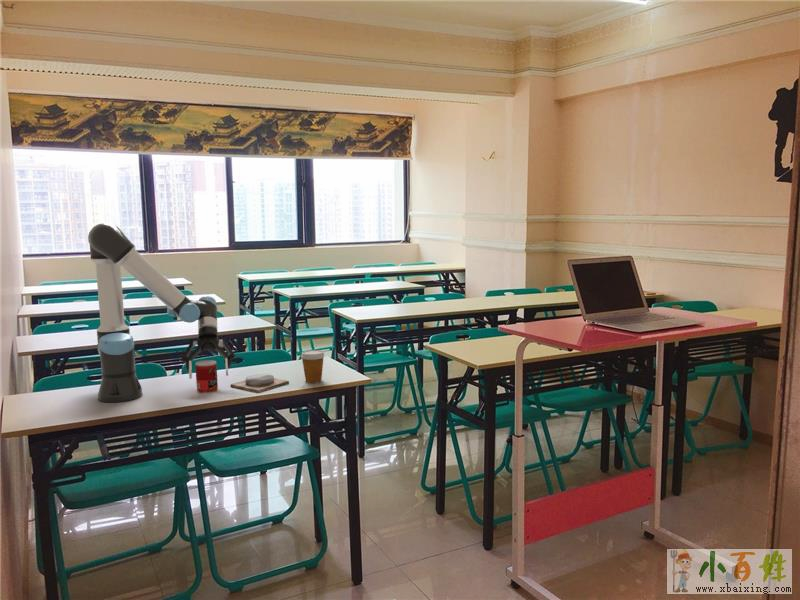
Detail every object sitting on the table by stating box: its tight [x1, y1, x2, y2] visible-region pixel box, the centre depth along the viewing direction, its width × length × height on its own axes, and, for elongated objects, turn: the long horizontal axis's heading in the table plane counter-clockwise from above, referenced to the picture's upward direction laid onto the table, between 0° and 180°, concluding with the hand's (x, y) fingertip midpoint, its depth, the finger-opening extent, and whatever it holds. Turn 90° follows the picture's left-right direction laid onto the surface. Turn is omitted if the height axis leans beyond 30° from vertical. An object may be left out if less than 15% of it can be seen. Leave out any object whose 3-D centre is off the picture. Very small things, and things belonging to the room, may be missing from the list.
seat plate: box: [230, 373, 290, 393], centre depth 249 cm, size 16×16×3 cm
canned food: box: [194, 359, 219, 393], centre depth 242 cm, size 8×8×11 cm
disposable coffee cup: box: [300, 349, 325, 384], centre depth 253 cm, size 10×10×12 cm
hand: (208, 375), depth 242 cm, fingers open, 13 cm apart
